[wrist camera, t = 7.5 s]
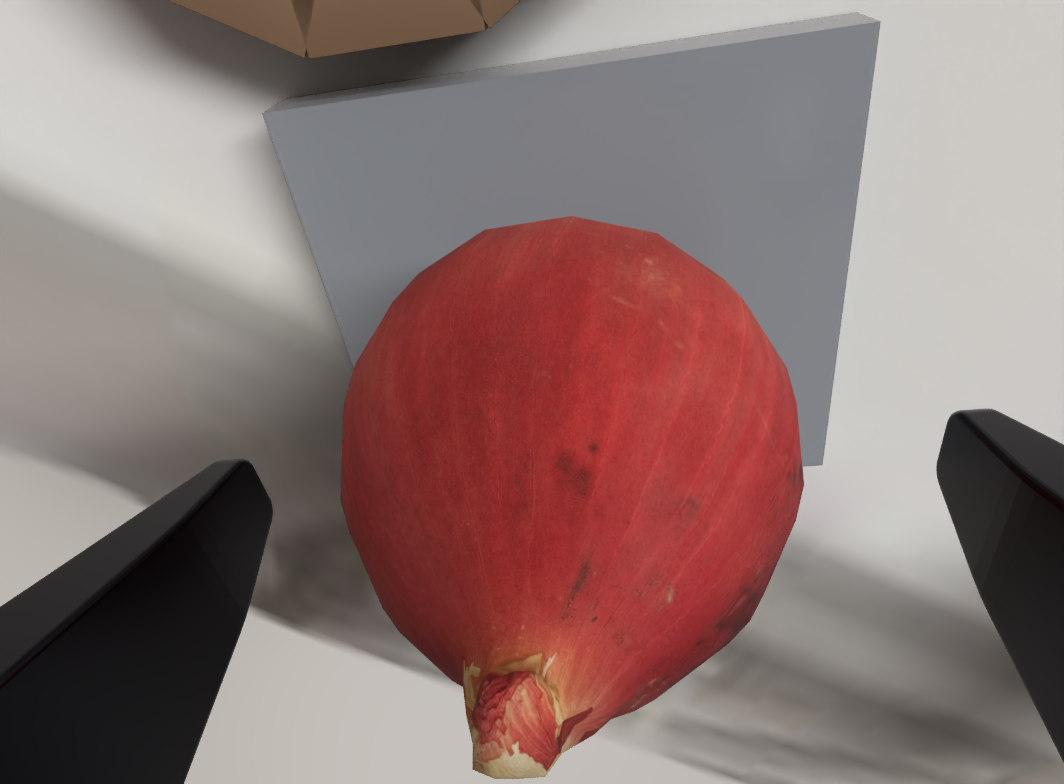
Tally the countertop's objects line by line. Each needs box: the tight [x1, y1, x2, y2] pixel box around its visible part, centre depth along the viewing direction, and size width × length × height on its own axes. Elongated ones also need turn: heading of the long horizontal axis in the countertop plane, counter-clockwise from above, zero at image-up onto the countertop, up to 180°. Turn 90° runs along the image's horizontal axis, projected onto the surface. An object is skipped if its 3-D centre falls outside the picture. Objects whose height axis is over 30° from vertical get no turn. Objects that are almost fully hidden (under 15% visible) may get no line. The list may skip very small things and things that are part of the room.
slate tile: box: [262, 12, 880, 466], centre depth 12 cm, size 9×8×1 cm
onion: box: [341, 216, 804, 779], centre depth 9 cm, size 6×6×8 cm
